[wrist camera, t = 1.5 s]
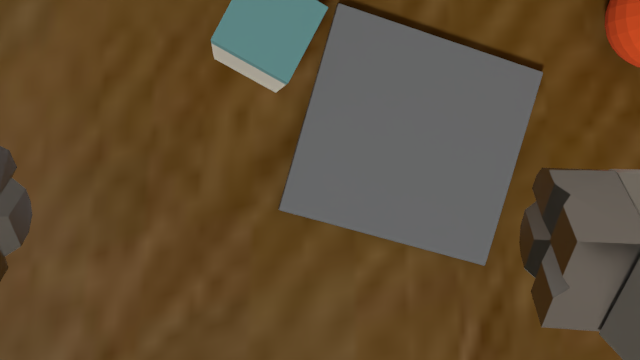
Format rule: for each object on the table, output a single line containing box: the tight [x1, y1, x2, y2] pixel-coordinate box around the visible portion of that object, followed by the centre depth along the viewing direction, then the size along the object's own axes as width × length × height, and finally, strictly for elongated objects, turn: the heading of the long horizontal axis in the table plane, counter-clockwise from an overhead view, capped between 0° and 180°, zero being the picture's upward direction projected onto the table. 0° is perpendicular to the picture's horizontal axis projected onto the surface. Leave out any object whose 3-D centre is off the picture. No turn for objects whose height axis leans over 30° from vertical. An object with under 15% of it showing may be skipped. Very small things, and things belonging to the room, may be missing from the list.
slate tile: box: [278, 3, 543, 266], centre depth 40 cm, size 15×14×1 cm
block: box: [211, 0, 328, 92], centre depth 35 cm, size 4×4×8 cm
